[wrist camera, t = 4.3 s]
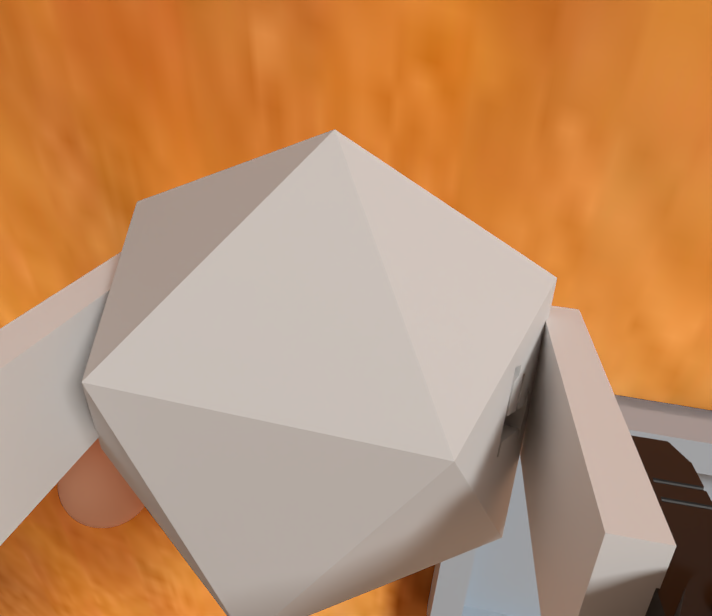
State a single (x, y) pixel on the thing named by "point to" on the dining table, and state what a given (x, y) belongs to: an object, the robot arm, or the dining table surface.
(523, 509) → the tray
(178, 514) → the die
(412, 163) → the dining table surface
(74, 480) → the ball
